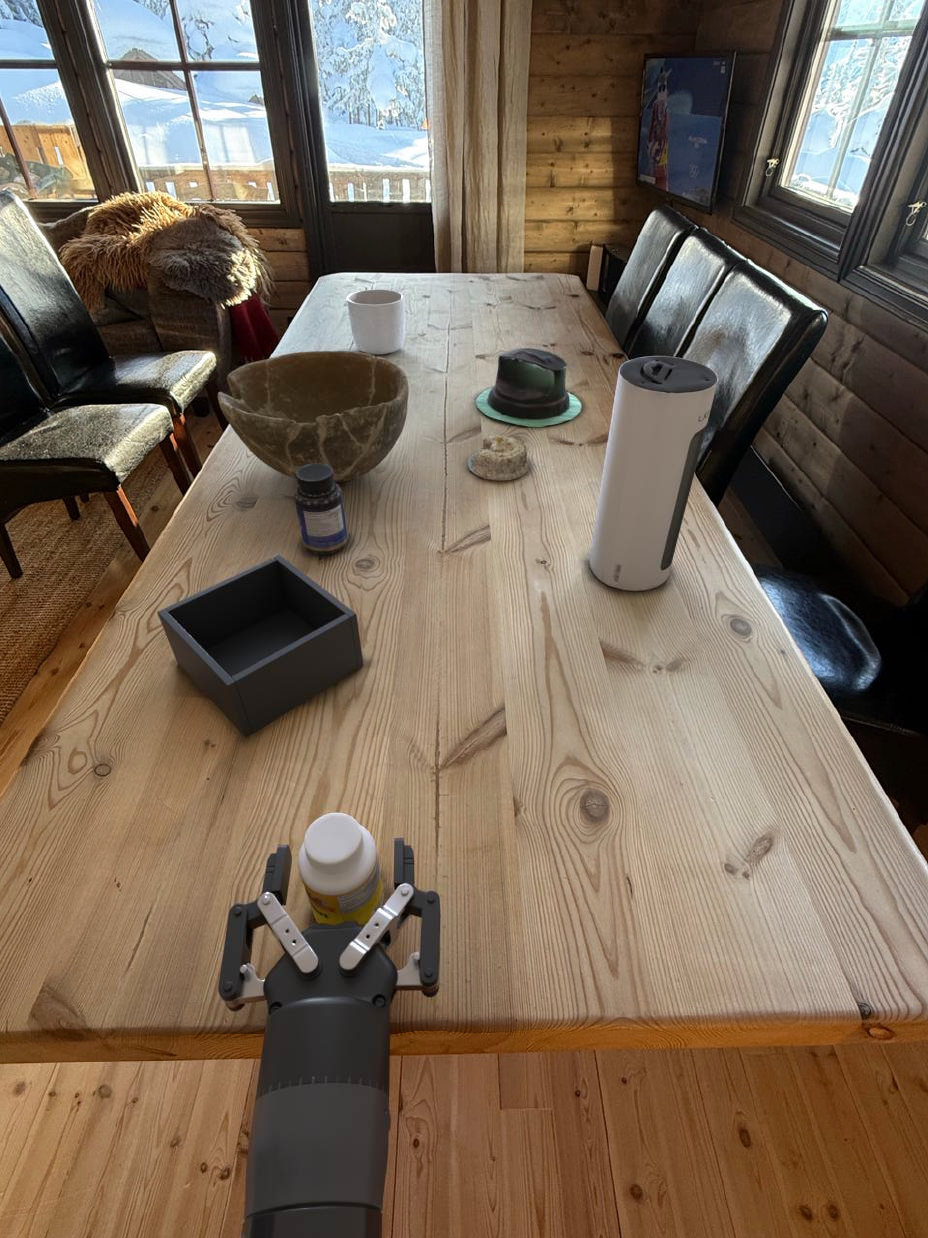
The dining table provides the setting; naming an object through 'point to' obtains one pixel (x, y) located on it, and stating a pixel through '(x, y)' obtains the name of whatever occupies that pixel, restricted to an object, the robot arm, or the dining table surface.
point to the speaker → (649, 468)
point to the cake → (500, 459)
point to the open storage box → (263, 642)
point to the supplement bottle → (340, 870)
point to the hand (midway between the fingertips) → (342, 846)
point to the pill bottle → (320, 510)
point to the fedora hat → (529, 390)
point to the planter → (377, 320)
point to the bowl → (318, 410)
